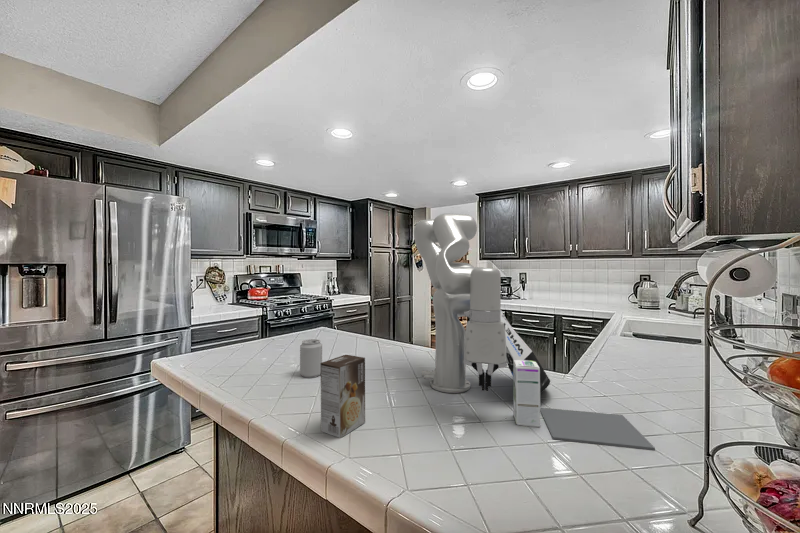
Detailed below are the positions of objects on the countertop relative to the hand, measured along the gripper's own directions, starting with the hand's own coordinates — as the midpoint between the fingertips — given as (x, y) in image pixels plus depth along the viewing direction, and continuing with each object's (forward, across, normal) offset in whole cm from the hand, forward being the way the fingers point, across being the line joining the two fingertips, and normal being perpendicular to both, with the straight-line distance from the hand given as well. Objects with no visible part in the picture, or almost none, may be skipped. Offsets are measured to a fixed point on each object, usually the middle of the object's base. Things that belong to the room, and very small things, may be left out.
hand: (484, 388), depth 86 cm
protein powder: (+5, +15, +20) cm, 25 cm away
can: (+7, -58, +19) cm, 62 cm away
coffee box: (+8, -33, -13) cm, 36 cm away
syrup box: (+8, +10, +1) cm, 12 cm away
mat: (+7, +24, +1) cm, 26 cm away
